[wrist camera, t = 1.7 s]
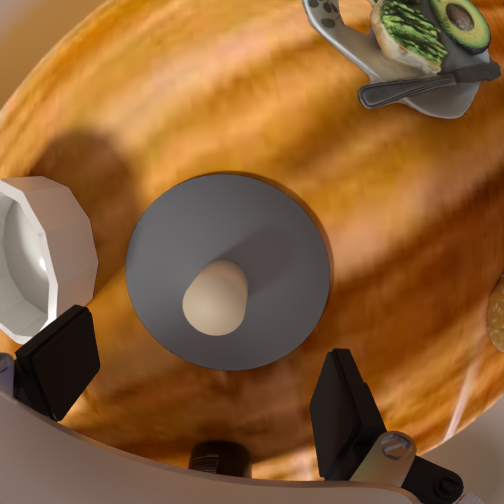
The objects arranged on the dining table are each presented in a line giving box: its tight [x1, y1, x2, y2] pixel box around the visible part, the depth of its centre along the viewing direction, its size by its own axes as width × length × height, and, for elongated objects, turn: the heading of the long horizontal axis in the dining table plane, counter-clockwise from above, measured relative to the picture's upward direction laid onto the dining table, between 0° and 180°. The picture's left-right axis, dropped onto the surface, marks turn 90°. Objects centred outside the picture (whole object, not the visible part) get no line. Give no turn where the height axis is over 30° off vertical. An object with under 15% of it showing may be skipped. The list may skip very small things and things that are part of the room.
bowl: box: [0, 176, 99, 344], centre depth 17 cm, size 13×13×6 cm
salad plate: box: [302, 0, 501, 119], centre depth 13 cm, size 19×18×5 cm
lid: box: [125, 174, 330, 371], centre depth 18 cm, size 15×15×5 cm
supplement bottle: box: [188, 441, 252, 478], centre depth 19 cm, size 7×7×12 cm
